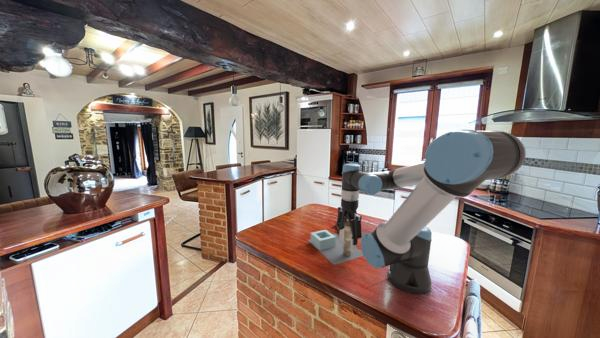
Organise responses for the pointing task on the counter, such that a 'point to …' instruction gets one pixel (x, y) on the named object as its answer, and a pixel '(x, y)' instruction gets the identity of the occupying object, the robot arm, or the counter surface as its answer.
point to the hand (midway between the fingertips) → (347, 246)
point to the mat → (338, 252)
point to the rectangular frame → (323, 239)
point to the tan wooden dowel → (347, 239)
